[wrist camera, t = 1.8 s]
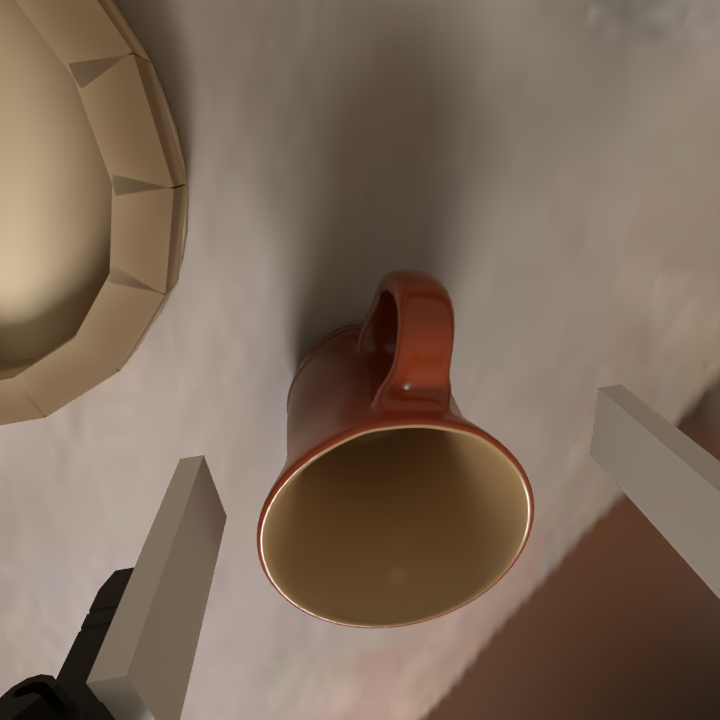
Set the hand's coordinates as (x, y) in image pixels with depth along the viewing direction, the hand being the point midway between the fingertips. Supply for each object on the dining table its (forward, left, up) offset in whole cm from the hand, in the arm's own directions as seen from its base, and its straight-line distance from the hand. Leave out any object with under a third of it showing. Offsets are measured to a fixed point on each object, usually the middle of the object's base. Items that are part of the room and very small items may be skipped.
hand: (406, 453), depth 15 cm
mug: (0, 0, -9) cm, 9 cm away
